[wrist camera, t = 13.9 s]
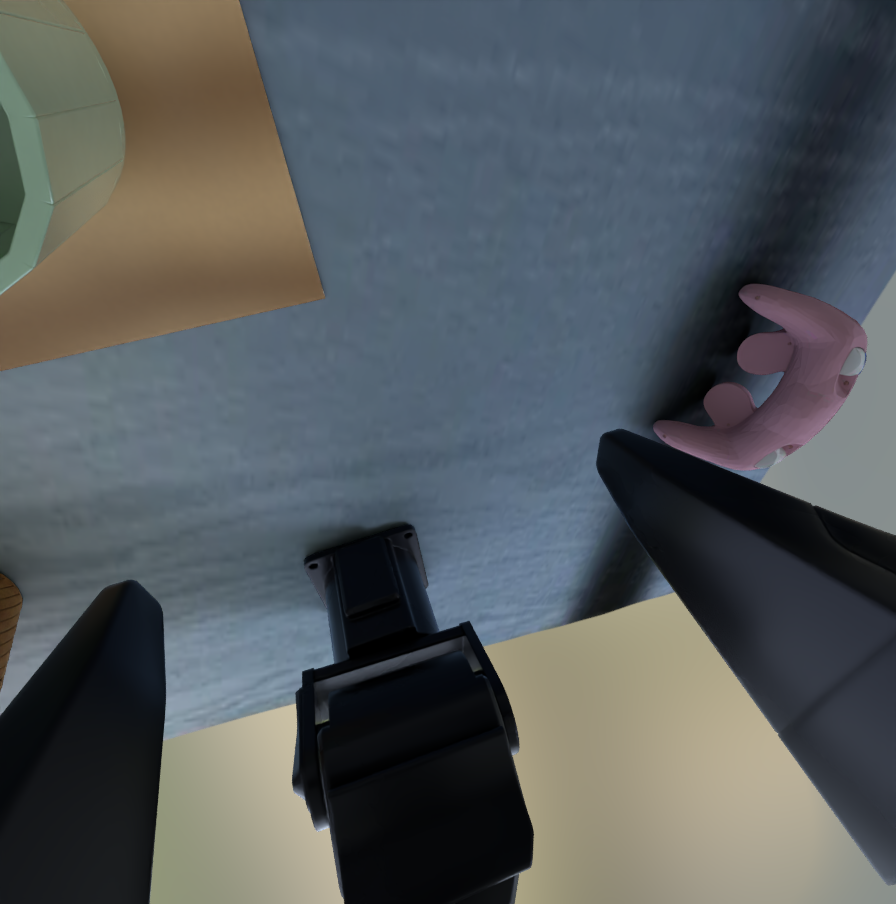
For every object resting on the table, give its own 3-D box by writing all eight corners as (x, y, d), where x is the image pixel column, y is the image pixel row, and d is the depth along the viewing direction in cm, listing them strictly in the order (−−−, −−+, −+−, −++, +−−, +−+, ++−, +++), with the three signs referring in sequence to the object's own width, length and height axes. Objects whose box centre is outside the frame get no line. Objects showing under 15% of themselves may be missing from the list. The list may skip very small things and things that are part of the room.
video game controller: (666, 421, 31) (771, 482, 27) (642, 436, 27) (757, 507, 24) (762, 276, 25) (906, 331, 22) (746, 273, 22) (912, 337, 19)
